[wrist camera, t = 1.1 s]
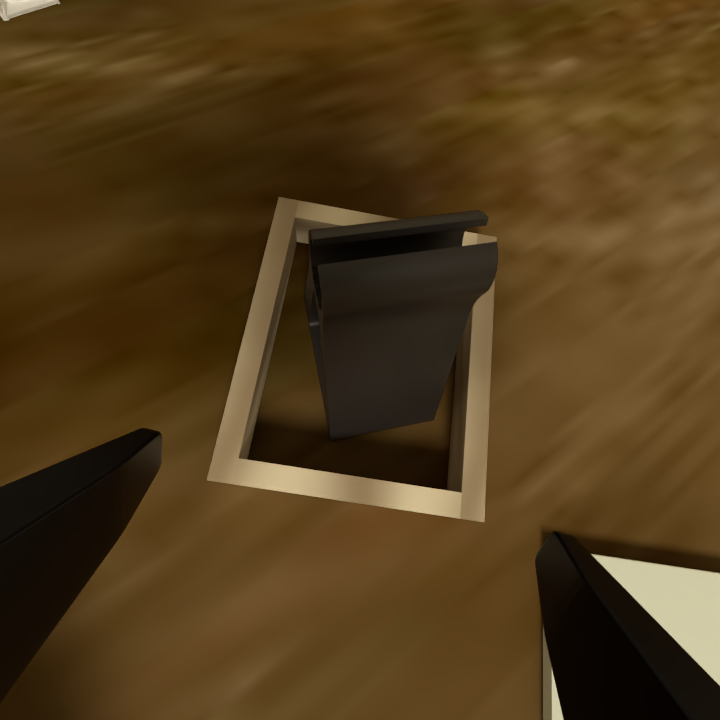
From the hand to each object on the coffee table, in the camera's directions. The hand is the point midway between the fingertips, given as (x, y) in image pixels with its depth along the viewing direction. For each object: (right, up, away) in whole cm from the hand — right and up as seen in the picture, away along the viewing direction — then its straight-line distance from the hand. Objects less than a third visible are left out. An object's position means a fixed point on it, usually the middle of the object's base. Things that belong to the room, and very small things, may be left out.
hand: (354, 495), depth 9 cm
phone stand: (0, +3, +16) cm, 16 cm away
